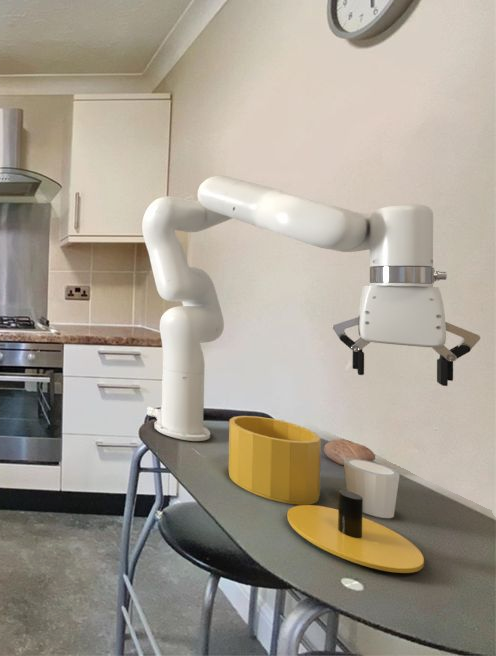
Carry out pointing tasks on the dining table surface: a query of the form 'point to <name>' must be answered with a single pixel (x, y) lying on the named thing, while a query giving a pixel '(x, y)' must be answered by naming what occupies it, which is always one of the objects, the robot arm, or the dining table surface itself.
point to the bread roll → (347, 451)
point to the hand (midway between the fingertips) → (399, 378)
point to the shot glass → (373, 486)
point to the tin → (275, 459)
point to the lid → (355, 535)
